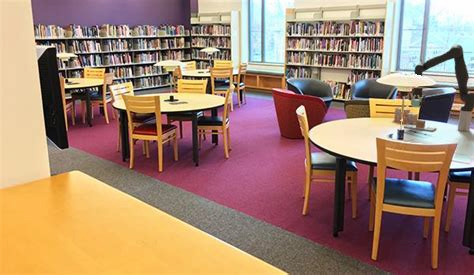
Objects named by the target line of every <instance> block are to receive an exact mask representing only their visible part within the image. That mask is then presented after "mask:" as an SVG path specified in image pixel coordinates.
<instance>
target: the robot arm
mask: <svg viewBox="0 0 474 275" xmlns="http://www.w3.org/2000/svg"><path fill="white" fill-rule="evenodd" d="M449 60H453V61H454V74H455V77H456V83H457V86H458V90H459V92H458V93H459V94H458V95H459V99H460V101H461V102H463V103H464V105H463V106H460V109H459V117H458V126H457V131H460V132H470V131H471V130H470V129H471V126H472V124H471V123H472V119H473V118H472V116H473V110H474V92H472V91H471V92H470V91H469V90H468V82H469V79H470V78H469V72H468V68H467V65H466V62H465V57H464V48H463V46H462V45H460V44H454V45H452V46H451V47H450V49H449V50H448V51H446V52H445V53H443V54H441V55H438V56H435V57H432V58H430V59H428V60H426V61H425V62H424V63H419V64H417V65H415V68H414V75H415V74H417V75H421V76H423V72H426V71H428V70H429V69H432V68H434V67H436V66H438V65H440V64H442V63H444V62H447V61H449ZM423 88H424V86H423V87H417V88H414V87H413V89H412V90H413V91H412V93H409V94H408V101H410V104H411V106H412V100H420V105H419V106H421V107H422V105H423V102H425V99H426V96H427V94H423V90H424V89H423Z"/></svg>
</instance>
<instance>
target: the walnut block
mask: <svg viewBox="0 0 474 275" xmlns="http://www.w3.org/2000/svg"><path fill="white" fill-rule="evenodd" d="M415 125H416V127H417V128H424V127H426V120H424V119H423V120H422V119H417V121H416V124H415Z"/></svg>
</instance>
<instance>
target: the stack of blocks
mask: <svg viewBox="0 0 474 275" xmlns="http://www.w3.org/2000/svg"><path fill="white" fill-rule="evenodd" d="M401 108H402V107H396V108H395V109H394V117H393V118H394V121H396V122H399V123H401V122H400V120H401ZM418 116H419V115H418V114H417V113H414V112H411V109H410V108H404V113H403V122H402V123H404V124H409V125H416V121H417V120H418Z"/></svg>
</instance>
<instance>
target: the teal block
mask: <svg viewBox="0 0 474 275" xmlns="http://www.w3.org/2000/svg"><path fill="white" fill-rule="evenodd" d="M419 105H420V100H419V99H414V100H412V105H411V108H421V107H422V105H421V106H419Z"/></svg>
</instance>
